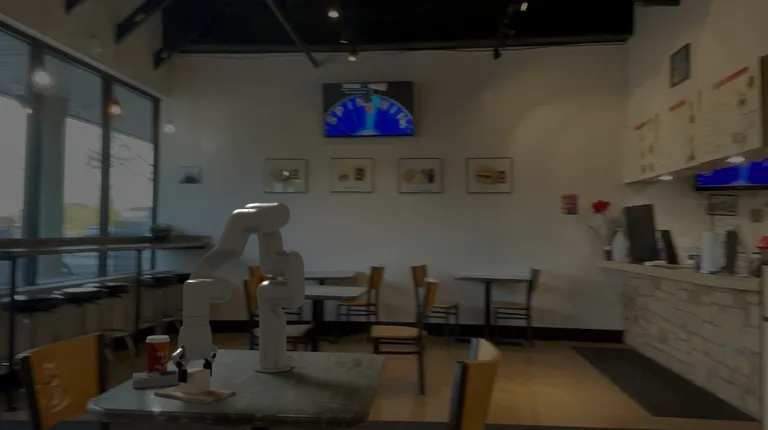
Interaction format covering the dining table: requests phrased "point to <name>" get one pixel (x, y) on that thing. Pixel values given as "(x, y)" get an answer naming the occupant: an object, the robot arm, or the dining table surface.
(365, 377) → the dining table surface
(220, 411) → the dining table surface
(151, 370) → the paper cup
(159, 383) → the handheld gaming device
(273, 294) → the robot arm
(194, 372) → the cream cube
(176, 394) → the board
